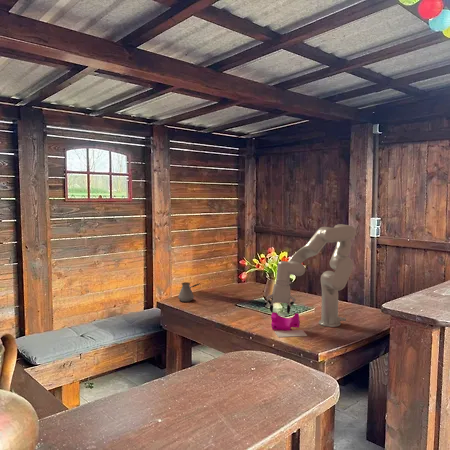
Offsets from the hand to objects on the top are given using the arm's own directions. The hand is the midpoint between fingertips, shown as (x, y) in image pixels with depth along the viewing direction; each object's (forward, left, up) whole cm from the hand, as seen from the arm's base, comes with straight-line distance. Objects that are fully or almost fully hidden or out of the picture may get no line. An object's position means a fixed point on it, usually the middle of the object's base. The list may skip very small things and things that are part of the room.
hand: (279, 312), depth 230 cm
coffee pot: (+49, -65, -9) cm, 82 cm away
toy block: (-3, +3, -7) cm, 9 cm away
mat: (-3, +11, -9) cm, 15 cm away
